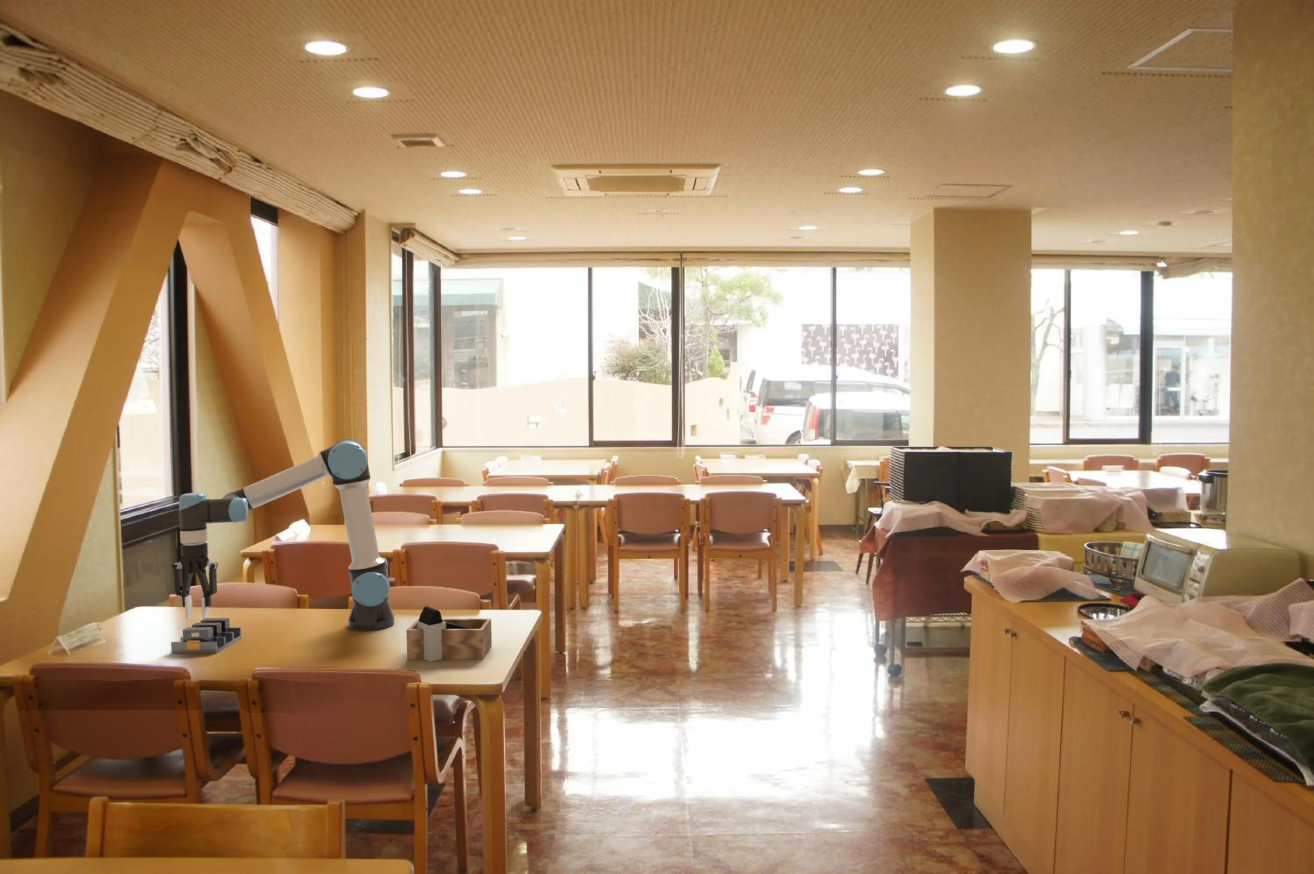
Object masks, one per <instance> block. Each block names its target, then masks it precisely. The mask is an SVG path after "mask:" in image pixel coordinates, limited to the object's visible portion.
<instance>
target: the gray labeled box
mask: <svg viewBox="0 0 1314 874" xmlns="http://www.w3.org/2000/svg"><path fill="white" fill-rule="evenodd" d="M182 637H183V642H187V641H188V640H201V642H213V627H192V626H191V627H190V626H189V627H186V628H184V629H182Z"/></svg>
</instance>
